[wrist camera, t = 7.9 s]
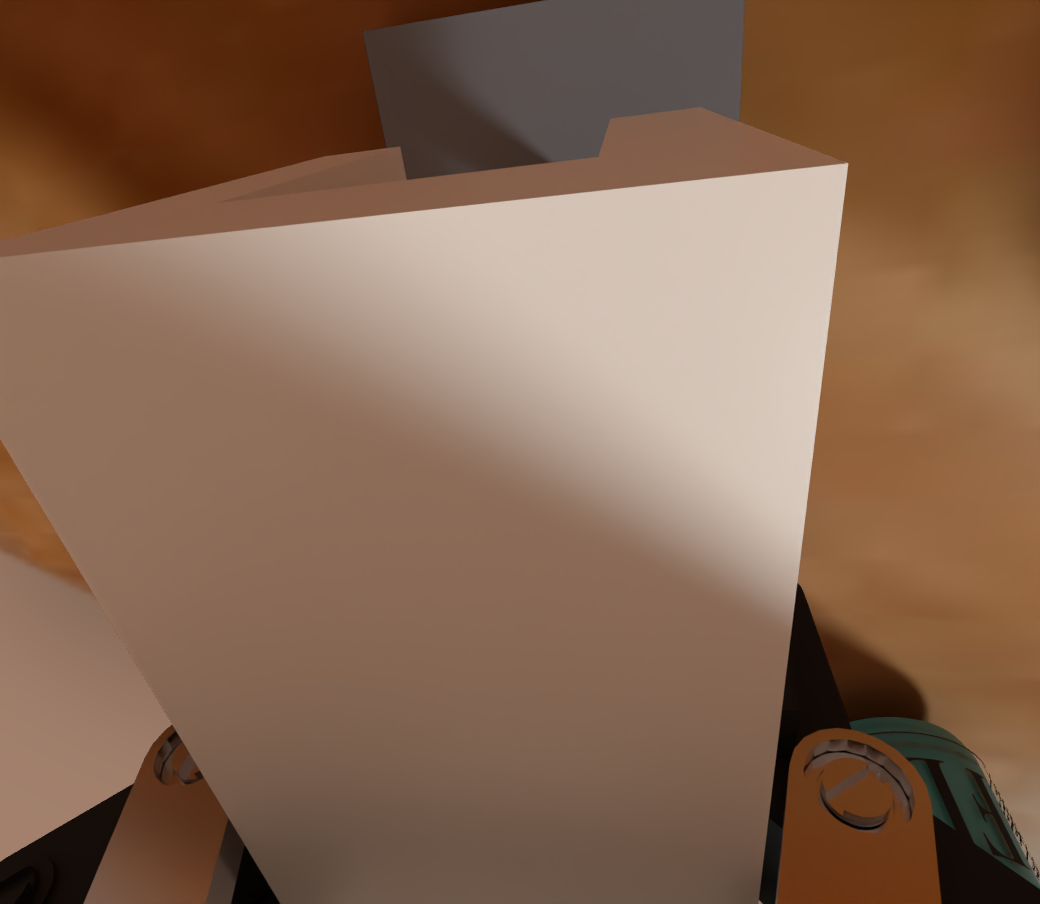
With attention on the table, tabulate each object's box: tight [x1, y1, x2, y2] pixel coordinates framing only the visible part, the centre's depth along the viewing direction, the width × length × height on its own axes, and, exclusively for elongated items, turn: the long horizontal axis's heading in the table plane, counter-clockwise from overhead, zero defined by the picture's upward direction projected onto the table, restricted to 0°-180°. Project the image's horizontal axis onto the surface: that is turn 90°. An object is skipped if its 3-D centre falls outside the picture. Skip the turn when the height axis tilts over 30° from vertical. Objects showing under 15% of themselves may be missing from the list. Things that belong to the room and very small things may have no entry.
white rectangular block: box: [0, 107, 848, 904], centre depth 9 cm, size 14×5×6 cm, turn 7°
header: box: [362, 0, 745, 180], centre depth 16 cm, size 18×8×6 cm, turn 7°
